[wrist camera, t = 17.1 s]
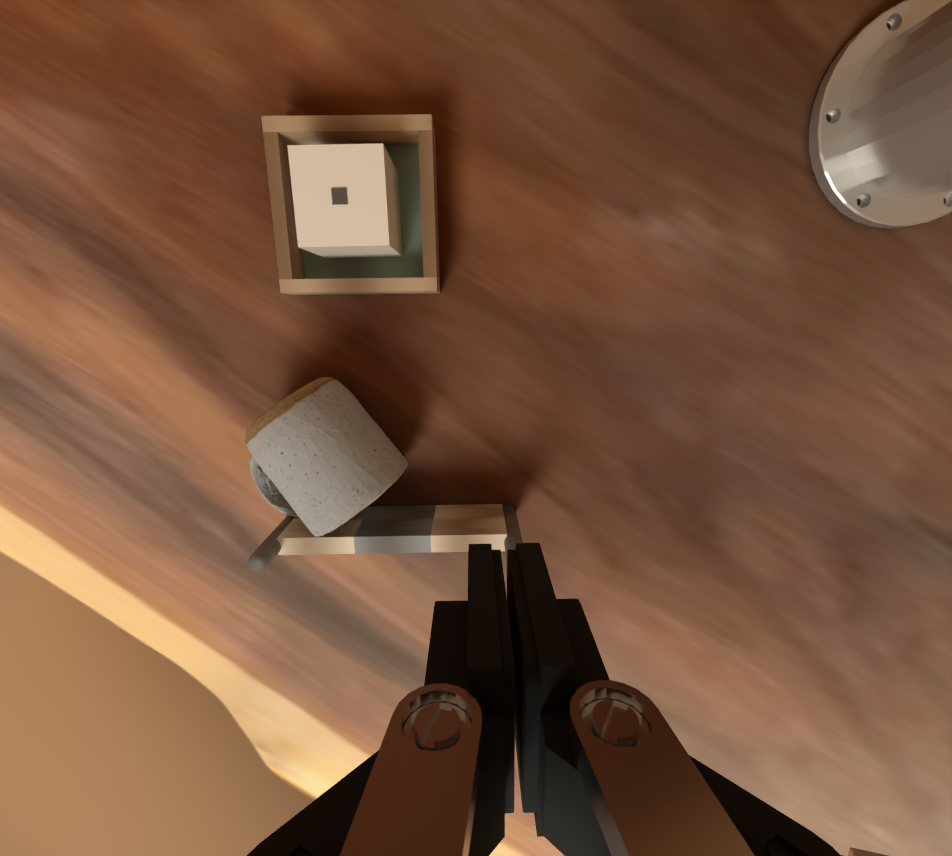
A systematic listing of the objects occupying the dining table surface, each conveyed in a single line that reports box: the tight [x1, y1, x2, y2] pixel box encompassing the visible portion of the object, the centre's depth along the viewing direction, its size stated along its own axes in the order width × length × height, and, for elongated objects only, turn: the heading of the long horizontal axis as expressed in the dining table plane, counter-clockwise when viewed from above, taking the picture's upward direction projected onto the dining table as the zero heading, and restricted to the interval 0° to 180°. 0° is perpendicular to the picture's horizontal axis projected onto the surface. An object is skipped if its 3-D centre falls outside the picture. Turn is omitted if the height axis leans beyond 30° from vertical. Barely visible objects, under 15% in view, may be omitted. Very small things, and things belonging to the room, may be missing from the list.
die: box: [287, 143, 402, 258], centre depth 27 cm, size 5×5×5 cm
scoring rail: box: [248, 504, 523, 571], centre depth 32 cm, size 17×1×7 cm, turn 91°
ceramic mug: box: [245, 377, 408, 537], centre depth 30 cm, size 11×8×8 cm
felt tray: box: [261, 114, 440, 295], centre depth 29 cm, size 10×10×3 cm
